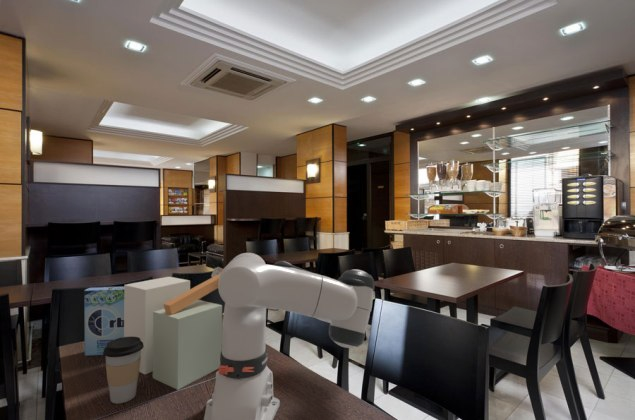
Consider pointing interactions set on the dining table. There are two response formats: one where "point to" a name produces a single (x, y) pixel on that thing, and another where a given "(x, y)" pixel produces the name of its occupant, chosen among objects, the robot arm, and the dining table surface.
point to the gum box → (103, 317)
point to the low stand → (187, 343)
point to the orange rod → (191, 295)
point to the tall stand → (148, 311)
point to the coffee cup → (123, 367)
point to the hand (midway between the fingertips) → (221, 269)
